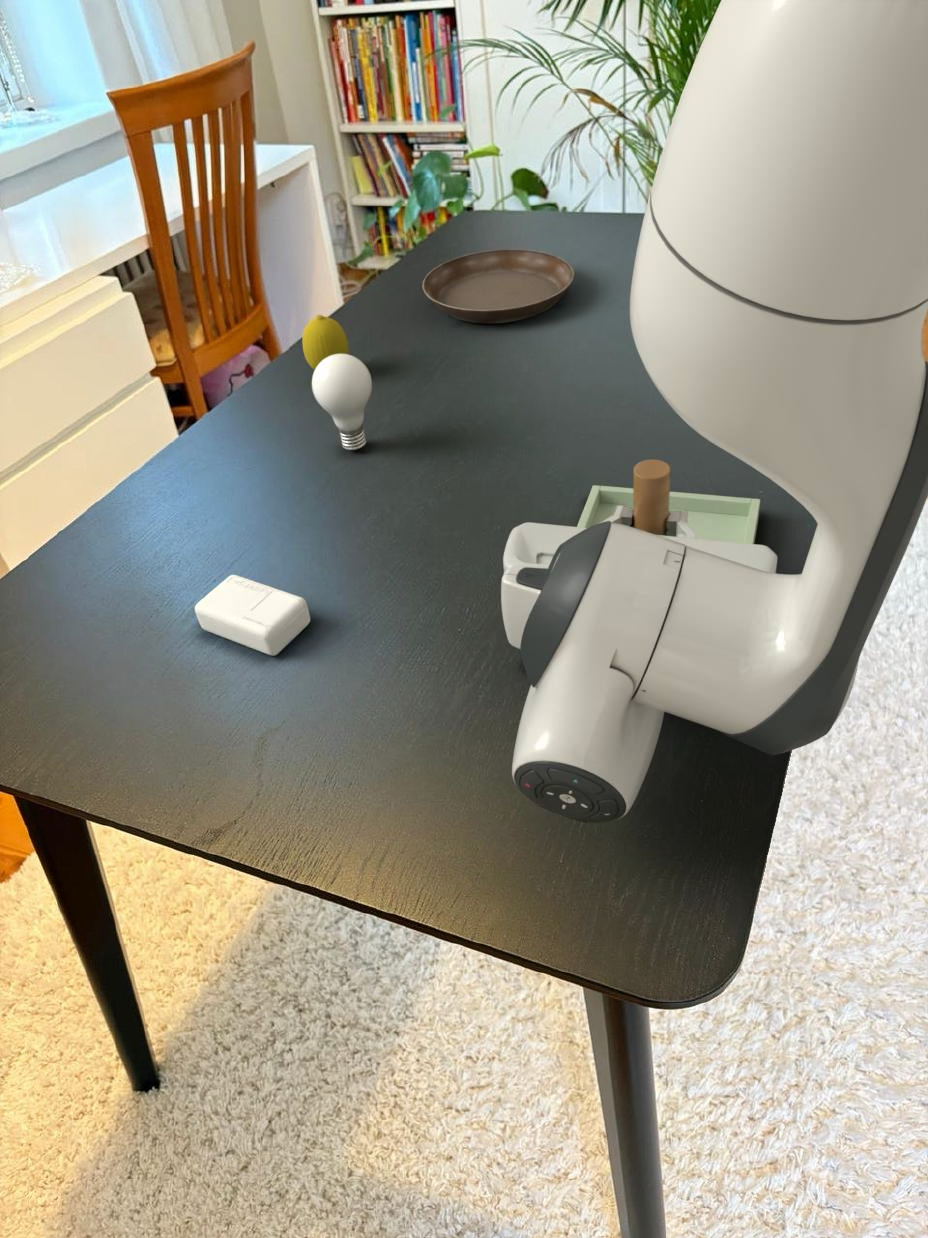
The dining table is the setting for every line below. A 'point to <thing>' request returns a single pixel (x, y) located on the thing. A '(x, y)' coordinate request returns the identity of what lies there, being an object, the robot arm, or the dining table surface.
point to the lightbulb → (344, 395)
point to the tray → (705, 512)
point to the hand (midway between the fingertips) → (652, 515)
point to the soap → (253, 614)
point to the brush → (651, 496)
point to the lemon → (323, 340)
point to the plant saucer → (498, 285)
